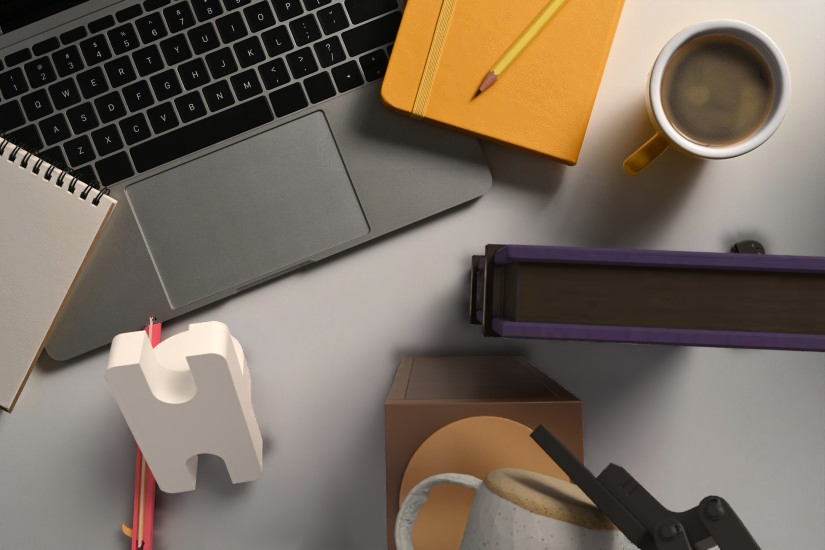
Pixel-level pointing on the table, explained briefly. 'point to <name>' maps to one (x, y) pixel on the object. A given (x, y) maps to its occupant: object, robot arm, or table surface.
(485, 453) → the brown square coaster
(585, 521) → the ceramic mug
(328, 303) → the table surface
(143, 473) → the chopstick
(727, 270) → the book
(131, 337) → the white slotted bracket
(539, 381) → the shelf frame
